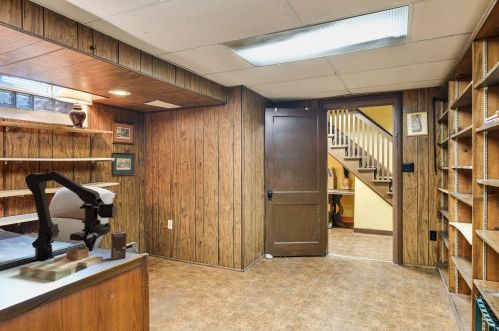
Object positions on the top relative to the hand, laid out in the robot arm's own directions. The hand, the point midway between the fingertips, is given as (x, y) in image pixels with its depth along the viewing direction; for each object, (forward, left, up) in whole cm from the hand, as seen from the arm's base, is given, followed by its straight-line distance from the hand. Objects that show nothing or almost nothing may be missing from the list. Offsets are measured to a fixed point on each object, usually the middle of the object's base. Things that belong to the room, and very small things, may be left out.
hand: (90, 251), depth 142 cm
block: (0, -7, -1) cm, 7 cm away
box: (+13, +4, -3) cm, 13 cm away
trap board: (0, -14, -3) cm, 15 cm away
